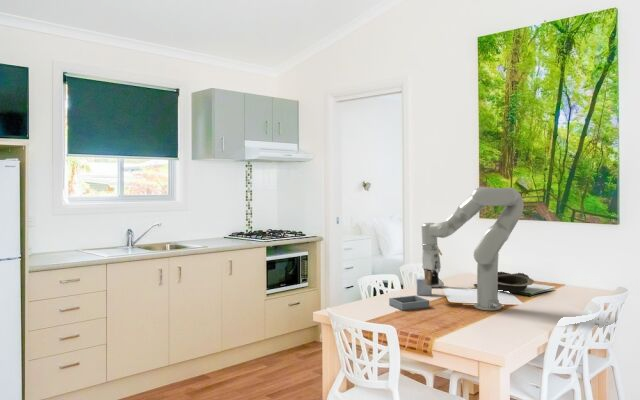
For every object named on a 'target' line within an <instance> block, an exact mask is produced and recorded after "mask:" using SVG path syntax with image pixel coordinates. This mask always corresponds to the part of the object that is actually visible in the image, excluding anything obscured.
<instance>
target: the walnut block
mask: <svg viewBox="0 0 640 400" xmlns="http://www.w3.org/2000/svg"><path fill="white" fill-rule="evenodd" d="M423 272H424V274H423V275H424V278H425V285H429V286H433V285H439V279H440V278H439V276H438V284H432V271H431V270H427V271H423ZM434 272H435V271H434Z"/></svg>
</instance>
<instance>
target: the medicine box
mask: <svg viewBox="0 0 640 400" xmlns="http://www.w3.org/2000/svg"><path fill="white" fill-rule="evenodd" d="M415 279H416V296H432V295H433V293H432V290H433V287H432V286H429V285H425V277H424V278H423V277H422V278H421V277H420V278H419V277H417V278H415Z"/></svg>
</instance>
